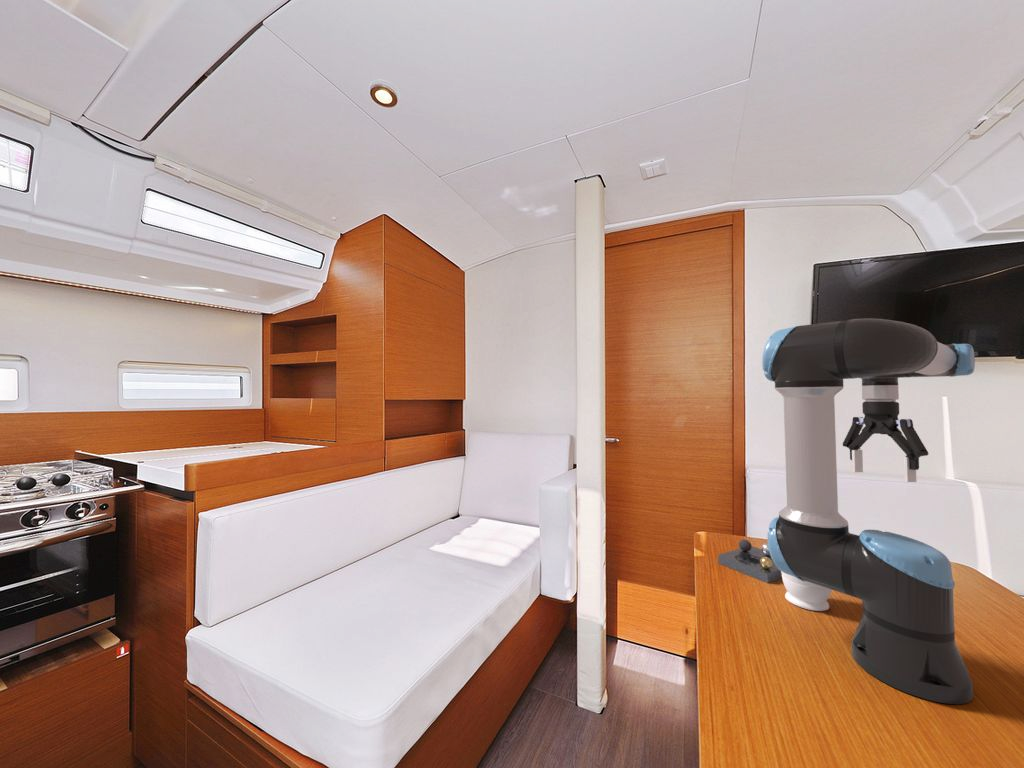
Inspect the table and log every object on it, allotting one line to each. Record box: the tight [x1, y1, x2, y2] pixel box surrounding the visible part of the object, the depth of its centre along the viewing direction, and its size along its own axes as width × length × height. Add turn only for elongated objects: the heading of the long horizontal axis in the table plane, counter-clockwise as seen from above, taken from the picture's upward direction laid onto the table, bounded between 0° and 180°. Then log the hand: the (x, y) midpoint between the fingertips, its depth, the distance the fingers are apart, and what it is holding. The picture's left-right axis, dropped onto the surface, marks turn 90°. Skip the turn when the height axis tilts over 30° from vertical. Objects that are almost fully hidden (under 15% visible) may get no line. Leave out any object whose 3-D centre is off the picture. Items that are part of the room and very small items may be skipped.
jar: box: [781, 571, 832, 612], centre depth 93 cm, size 11×10×15 cm
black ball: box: [738, 539, 753, 552], centre depth 118 cm, size 3×3×3 cm
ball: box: [760, 542, 771, 556], centre depth 115 cm, size 3×3×3 cm
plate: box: [717, 545, 782, 584], centre depth 113 cm, size 16×14×2 cm
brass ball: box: [760, 557, 773, 569], centre depth 106 cm, size 3×3×3 cm
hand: (882, 476), depth 108 cm, fingers open, 13 cm apart
